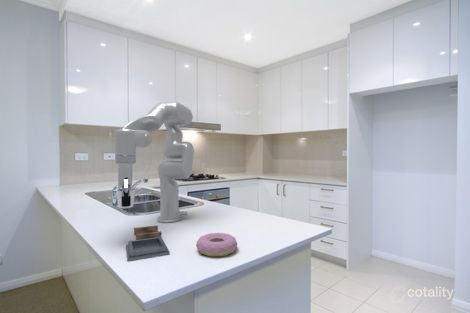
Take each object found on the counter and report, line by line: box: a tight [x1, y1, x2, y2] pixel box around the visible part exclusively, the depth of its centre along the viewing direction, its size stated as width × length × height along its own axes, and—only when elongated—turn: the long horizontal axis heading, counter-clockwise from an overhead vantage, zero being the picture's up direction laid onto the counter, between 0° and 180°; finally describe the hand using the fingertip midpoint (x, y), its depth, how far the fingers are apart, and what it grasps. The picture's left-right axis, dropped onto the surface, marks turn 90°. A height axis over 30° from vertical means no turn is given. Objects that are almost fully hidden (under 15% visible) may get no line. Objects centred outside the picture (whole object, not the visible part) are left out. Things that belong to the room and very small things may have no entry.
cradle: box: [125, 236, 171, 262], centre depth 97 cm, size 14×14×2 cm
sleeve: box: [133, 224, 162, 240], centre depth 113 cm, size 10×11×3 cm
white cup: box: [115, 188, 136, 209], centre depth 105 cm, size 7×7×7 cm
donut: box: [195, 232, 238, 258], centre depth 98 cm, size 16×15×5 cm
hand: (126, 204), depth 105 cm, fingers closed on white cup, 6 cm apart
